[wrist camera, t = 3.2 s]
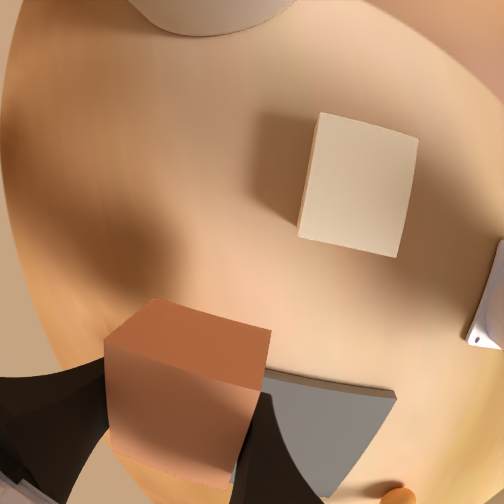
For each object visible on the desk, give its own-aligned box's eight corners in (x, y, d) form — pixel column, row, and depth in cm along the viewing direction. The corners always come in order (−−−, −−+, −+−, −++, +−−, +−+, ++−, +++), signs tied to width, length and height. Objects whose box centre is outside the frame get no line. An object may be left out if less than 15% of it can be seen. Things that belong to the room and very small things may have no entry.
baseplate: (393, 391, 19) (397, 398, 18) (328, 490, 22) (329, 497, 21) (209, 354, 20) (205, 361, 19) (190, 464, 24) (187, 471, 23)
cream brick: (393, 148, 16) (418, 138, 12) (375, 243, 17) (396, 258, 14) (314, 128, 17) (320, 111, 13) (296, 226, 18) (297, 236, 14)
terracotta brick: (271, 330, 12) (260, 391, 8) (241, 429, 13) (225, 490, 9) (154, 297, 12) (103, 339, 8) (147, 400, 14) (112, 450, 10)
